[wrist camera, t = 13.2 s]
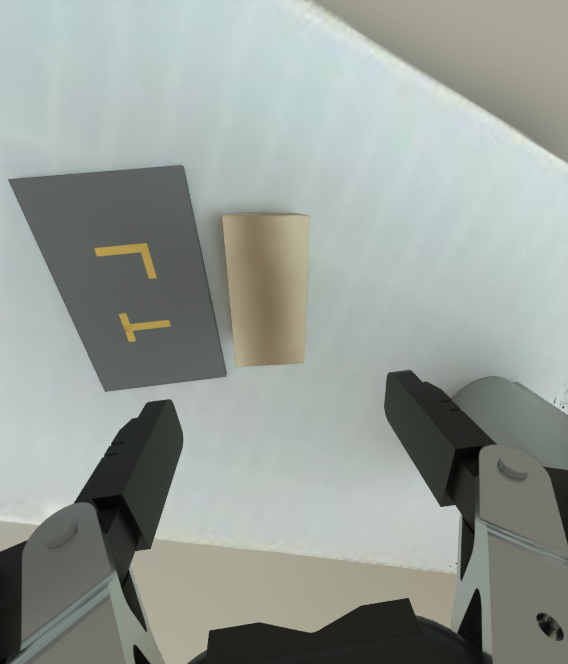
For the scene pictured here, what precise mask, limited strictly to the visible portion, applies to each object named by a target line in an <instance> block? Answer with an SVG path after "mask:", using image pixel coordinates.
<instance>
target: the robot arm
mask: <svg viewBox="0 0 568 664" xmlns="http://www.w3.org/2000/svg"><path fill="white" fill-rule="evenodd" d="M384 408H385V414H386V417H387V420H388V422H389V424H390V425H391V427H392V428H393V430H394V432H395V433H396V435H397V437H398V438H399V440H400V441H401V443H402V445H403V446H404V448H405V450H406V451H407V453H408V454H409V456H410V458H411V459H412V461H413V463H414V464H415V466H416V467H417V469H418V471H419V472H420V474H421V475H422V477H423V479H424V480H425V482H426V484H427V485H428V487H429V488H430V490H431V492H432V493H433V495H434V497H435V498H436V500H437V501H438V503H439V505H440V506H441V507H444V506H451V505H456V507H457V508H458V510H459V511H460V513H461V515H460V519H459V536H458V558H457V580H456V592H455V599H454V604H453V611H452V618H451V629H449V628H447V627H445V626H443V625H441V624H439V623H437V622H435V621H433V620H430V619H427V618H424V617H421V616H416V615H415V613H414V611H413V608H412V606H411V603H410V601H409V598H406V599H399V600H393V601H388V602H381V603H375V604H369V605H363V606H360V607H358V608H356V609H355V610H353V611H351V612H350V613H348V614H346V615H344V616H343V617H341V618H339V619H337V620H336V621H334V622H332V623H331V624H329V625H327V626H325V627H324V628H322V629H320V630H319V631H316V632H313V633H307V632H303V631H298V630H293V629H288V628H284V627H278V626H274V625H269V624H265V623H253V624H247V625H241V626H235V627H229V628H223V629H217V630H210V631H209V638H208V646H207V650H206V651H204V652H202V653H201V654H199V655H198V656H196V657H195V658H194V659H193V660H191V661H190V662H188V663H187V664H568V415H567V414H565V413H564V412H562V411H561V410H559V409H558V408H556V407H555V406H553V405H552V404H550V403H549V402H547V401H546V400H544V399H543V398H541V397H540V396H538V395H537V394H535V393H534V392H532V391H531V390H529V389H528V388H526V387H525V386H523V385H522V384H520V383H519V382H515V383H512V382H510V381H508V380H507V379H505V378H502V377H494V376H493V377H485V378H482V379H479V380H476V381H474V382H472V383H470V384H469V385H467V386H466V387H464V388H463V389H462V390H461V391H460V392H458V394H457V395H456V396H455V397H454V398H453V400H451V399H450V398H449V397H448V396H447V395H446V394H445V393H444V392H443V391H442V390H441V389H439V388H438V387H436V386H434V385H432V384H430V383H429V382H422V381H421V380H420V379H419V378H418V377H417V376H416V375H415V374H414V373H413V372H412V371H411V370H405V371H397V372H390V373H388V375H387V381H386V392H385V403H384ZM182 447H183V432H182V428H181V425H180V422H179V419H178V416H177V413H176V410H175V407H174V404H173V402H172V400H170V399H168V400H160V401H152V402H148V403H146V405H145V406H144V408H143V410H142V411H141V413H140V415H139V417H138V418H132V419H131V420H130V421H129V422H128V423H127V424H126V425H125V426H124V427H123V428H122V429H120V430H119V432H118V434H117V435H116V437H115V438H114V440H113V441H112V443H111V446H109V448H108V449H107V451H106V453H105V454H104V457H103V458H102V459H101V461H100V462H99V464H98V465H97V467H96V469H95V470H94V472H93V473H92V475H91V477H90V478H89V480H88V481H87V483H86V485H85V486H84V488H83V489H82V491H81V493H80V494H79V496H78V497H77V499H76V501H75V502H74V504H72V505H69V506H67V507H64V508H63V509H61V510H59V511H57V512H56V513H54V514H53V515H51V516H50V517H49V518H47V519H46V520H45V521H44V522H43V523H42V524H41V525H40V526H39V527H38V528H37V529H36V530H35V531H34V533H33V534H32V535H31V537H30V538H29V540H27V541H24V542H22V543H20V544H17V545H15V546H13V547H10V548H8V549H6V550H3V551H1V552H0V664H165V663H164V660H163V658H162V656H161V653H160V651H159V649H158V647H157V645H156V642H155V640H154V637H153V634H152V631H151V628H150V625H149V622H148V619H147V616H146V612H145V609H144V606H143V603H142V600H141V597H140V594H139V591H138V587H137V584H136V581H135V578H134V575H133V571H132V569H131V567H130V564H131V561H132V558H133V556H134V553H135V551H139V550H146V549H151V546H152V543H153V539H154V536H155V533H156V530H157V527H158V524H159V520H160V517H161V514H162V511H163V508H164V505H165V501H166V498H167V495H168V492H169V489H170V486H171V482H172V479H173V476H174V473H175V470H176V467H177V463H178V460H179V457H180V454H181V451H182Z"/></svg>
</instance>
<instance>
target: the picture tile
mask: <svg viewBox="0 0 568 664" xmlns="http://www.w3.org/2000/svg"><path fill="white" fill-rule="evenodd" d="M8 181H9V183H10V185H11V187H12V189H13V191H14V194H15V196H16V198H17V200H18V202H19V205H20V207H21V209H22V211H23V213H24V216H25V218H26V220H27V222H28V224H29V226H30V229H31V231H32V233H33V235H34V237H35V240H36V242H37V244H38V246H39V248H40V251H41V253H42V255H43V257H44V259H45V261H46V264H47V266H48V268H49V270H50V272H51V275H52V277H53V279H54V281H55V283H56V286H57V288H58V290H59V292H60V294H61V296H62V299H63V301H64V303H65V305H66V307H67V310H68V312H69V314H70V316H71V318H72V321H73V323H74V325H75V327H76V329H77V331H78V334H79V336H80V338H81V340H82V342H83V345H84V347H85V349H86V351H87V353H88V356H89V358H90V360H91V362H92V364H93V366H94V369H95V371H96V373H97V375H98V377H99V380H100V382H101V384H102V386H103V388H104V390H105V392H107V391H115V390H123V389H131V388H139V387H147V386H155V385H163V384H171V383H179V382H187V381H195V380H203V379H211V378H219V377H226V375H227V373H226V368H225V363H224V358H223V353H222V349H221V344H220V339H219V334H218V329H217V325H216V320H215V315H214V310H213V305H212V300H211V296H210V291H209V286H208V281H207V276H206V272H205V267H204V262H203V257H202V252H201V248H200V243H199V238H198V233H197V228H196V224H195V219H194V214H193V209H192V204H191V200H190V195H189V190H188V185H187V180H186V175H185V171H184V166H182V165H179V166H167V167H154V168H142V169H130V170H118V171H105V172H93V173H81V174H68V175H56V176H44V177H31V178H19V179H8Z"/></svg>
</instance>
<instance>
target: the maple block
mask: <svg viewBox="0 0 568 664" xmlns="http://www.w3.org/2000/svg"><path fill="white" fill-rule="evenodd" d="M222 221H223V232H224V243H225V254H226V265H227V276H228V287H229V298H230V309H231V320H232V331H233V342H234V353H235V363H236V367H243V366H262V365H280V364H298V363H304V356H305V328H306V300H307V272H308V243H309V216H308V215H303V214H227V215H224V216H222Z"/></svg>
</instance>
